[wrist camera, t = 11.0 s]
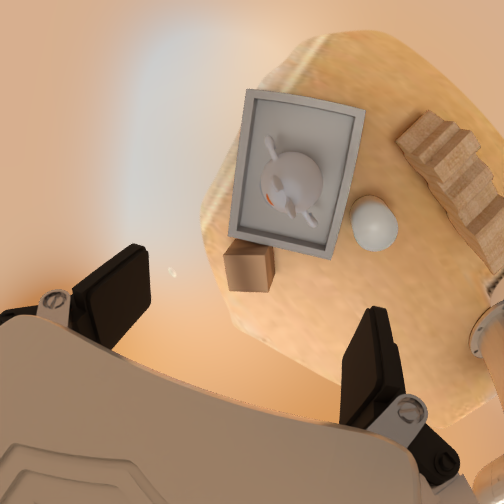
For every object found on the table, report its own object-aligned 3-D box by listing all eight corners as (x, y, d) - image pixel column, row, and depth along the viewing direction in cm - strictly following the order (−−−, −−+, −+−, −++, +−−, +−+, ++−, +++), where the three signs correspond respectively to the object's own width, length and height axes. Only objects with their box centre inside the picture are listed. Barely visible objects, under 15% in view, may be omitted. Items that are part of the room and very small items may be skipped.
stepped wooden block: (419, 110, 25) (455, 107, 16) (488, 216, 27) (527, 246, 18) (389, 139, 27) (416, 145, 19) (462, 241, 29) (495, 278, 21)
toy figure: (250, 147, 31) (212, 159, 21) (297, 122, 29) (283, 119, 18) (293, 224, 34) (278, 272, 24) (339, 203, 32) (347, 244, 21)
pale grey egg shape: (393, 201, 30) (403, 214, 26) (381, 238, 33) (389, 256, 28) (355, 190, 31) (360, 201, 27) (345, 229, 33) (348, 245, 29)
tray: (363, 111, 27) (365, 110, 25) (330, 252, 35) (330, 260, 33) (251, 90, 29) (246, 88, 27) (233, 229, 37) (227, 236, 35)
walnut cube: (272, 238, 36) (264, 255, 32) (275, 272, 38) (268, 292, 34) (235, 239, 38) (223, 255, 33) (240, 272, 40) (229, 291, 35)
